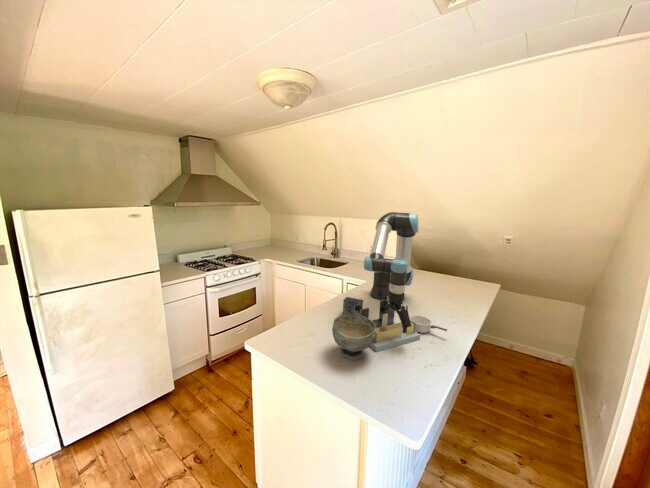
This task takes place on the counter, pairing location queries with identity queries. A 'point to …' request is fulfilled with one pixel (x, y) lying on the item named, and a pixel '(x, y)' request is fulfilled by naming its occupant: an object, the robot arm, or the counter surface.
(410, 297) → the counter surface
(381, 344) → the board
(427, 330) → the saucepan
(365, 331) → the bowl
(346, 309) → the small box
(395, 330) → the rail
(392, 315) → the grey metal bracket
